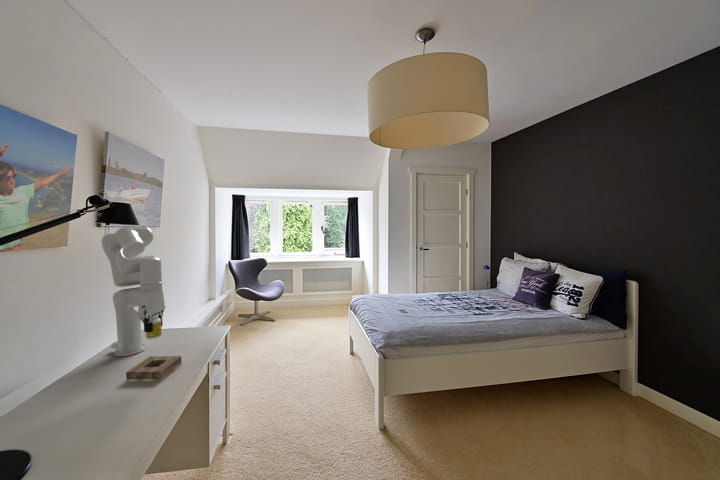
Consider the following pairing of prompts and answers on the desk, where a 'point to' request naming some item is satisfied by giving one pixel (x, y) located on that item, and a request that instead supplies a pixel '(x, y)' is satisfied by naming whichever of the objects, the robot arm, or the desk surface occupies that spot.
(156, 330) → the supplement bottle
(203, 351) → the desk surface
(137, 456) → the desk surface
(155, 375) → the socket block
